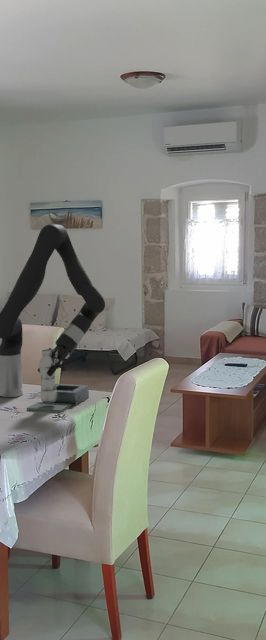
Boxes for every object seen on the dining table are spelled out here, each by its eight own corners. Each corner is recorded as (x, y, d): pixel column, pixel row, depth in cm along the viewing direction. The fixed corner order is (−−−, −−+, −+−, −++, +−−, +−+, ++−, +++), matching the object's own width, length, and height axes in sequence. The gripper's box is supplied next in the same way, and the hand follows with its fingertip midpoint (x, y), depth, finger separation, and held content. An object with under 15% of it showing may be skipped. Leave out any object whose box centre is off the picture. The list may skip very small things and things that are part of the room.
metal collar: (42, 403, 252) (42, 390, 252) (57, 395, 264) (56, 383, 264) (75, 405, 248) (75, 392, 247) (88, 397, 260) (88, 385, 259)
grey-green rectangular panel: (26, 410, 242) (26, 407, 242) (37, 404, 251) (37, 402, 251) (60, 412, 238) (60, 410, 238) (71, 406, 246) (71, 404, 246)
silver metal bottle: (59, 400, 247) (57, 348, 245) (55, 404, 240) (53, 351, 238) (43, 400, 248) (40, 348, 245) (38, 404, 241) (36, 351, 239)
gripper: (54, 330, 251) (28, 364, 245) (73, 334, 239) (46, 370, 234) (66, 342, 255) (41, 376, 249) (86, 347, 243) (60, 382, 238)
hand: (44, 373), depth 242 cm, fingers closed on silver metal bottle, 6 cm apart
